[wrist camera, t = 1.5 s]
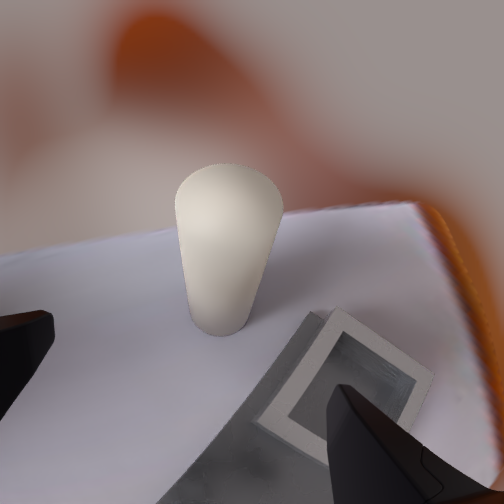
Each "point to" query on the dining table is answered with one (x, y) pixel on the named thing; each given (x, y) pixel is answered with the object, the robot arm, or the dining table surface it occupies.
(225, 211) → the peg
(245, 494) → the socket
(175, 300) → the dining table surface
